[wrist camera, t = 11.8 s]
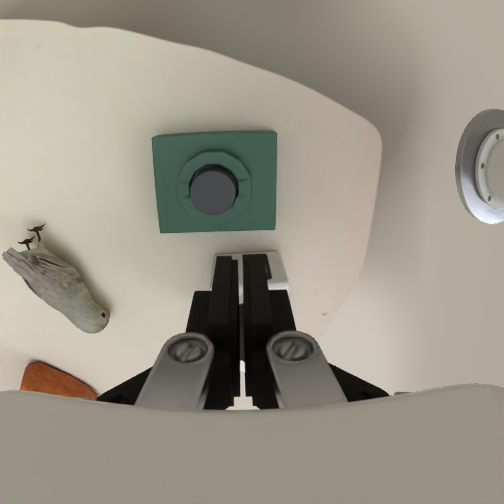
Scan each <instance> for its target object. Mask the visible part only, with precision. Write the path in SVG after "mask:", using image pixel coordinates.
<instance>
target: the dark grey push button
mask: <svg viewBox="0 0 504 504" xmlns="http://www.w3.org/2000/svg"><path fill="white" fill-rule="evenodd" d="M235 195H236V187H235V181H234V179H233V177H232V176H231V174H230V173H229V172H227V171H226V170H224V169H222V168H219V167H209V168H206V169H204V170H202V171H201V172H199V173H198V174H197V176H196V177H195V179H194V181H193V182H192V185H191V188H190V198H191V201H192V203H193V205H194V206H195V207H196V208H197V209H198V210H199V211H201V212H203V213H205V214H209V215H217V214H221V213H223V212H225V211H226V210H228V209H229V208H230V207H231V205H232V204H233V202H234V200H235Z"/></svg>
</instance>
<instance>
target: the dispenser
mask: <svg viewBox="0 0 504 504" xmlns="http://www.w3.org/2000/svg"><path fill="white" fill-rule="evenodd" d="M152 149H153V163H154V176H155V188H156V198H157V208H158V218H159V227H160V233H181V232H211V231H246V230H275V222H276V163H277V133H276V132H274V131H215V132H194V133H179V134H166V135H158V136H155V137H152ZM209 167H219V168H222V169H224V170H226V171H227V172H229V173H230V174H231V176H232V177H233V179H234V181H235V187H236V195H235V200H234V202H233V204H232V205H231V207H230V208H229V209H228V210H226V211H225V212H223V213H221V214H217V215H209V214H205V213H203V212H201V211H199V210H198V209H197V208H196V207H195V206H194V205H193V203H192V201H191V198H190V188H191V185H192V182H193V181H194V179H195V177H196V176H197V174H198V173H199V172H201V171H202V170H204V169H206V168H209Z"/></svg>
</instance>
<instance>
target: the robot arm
mask: <svg viewBox="0 0 504 504" xmlns="http://www.w3.org/2000/svg"><path fill="white" fill-rule="evenodd" d="M475 181H476V186H477V190H478V192H479V195H480V196H481V198H482V200H483V201H484V202H485V203H486V204H488V205H489V206H491V207H493V208H496V209H502V208H504V129H496V130H493V131H492V132H490V133H489V134H488V135H487V136H486V137H485V138H484V140H483V141H482V143H481V145H480V148H479V150H478V153H477V157H476V163H475ZM243 327H244V361H245V391H246V397H248V396H252V401H253V406H257V407H258V408H259V410H225V409H227V408H228V407H229V406H234V397H240V308H239V278H238V259H233V260H232V256H217V257H216V263H215V270H214V276H213V283H212V290H211V291H195V292H194V296H193V300H192V305H191V309H190V314H189V318H188V323H187V328H186V332H185V333H181V334H178V335H175V336H173V337H171V338H170V339H169V340H167V341H166V343H165V344H164V345H163V347H162V349H161V351H160V353H159V355H158V357H157V359H156V361H155V363H154V365H153V367H151V368H149V369H147V370H145V371H144V372H142V373H140V374H138V375H136V376H135V377H133V378H131V379H129V380H127V381H125V382H123V383H122V384H120V385H118V386H116V387H114V388H112V389H110V390H109V391H107V392H105V393H103V394H102V395H100V396H99V397H98V398H97V399H96V400H92V399H91V398H90V397H76V398H73V397H67V396H60V395H54V394H48V393H42V392H33V391H24V390H8V391H0V504H504V388H502V387H499V386H494V385H489V384H477V383H475V384H458V385H451V386H443V387H438V388H433V389H428V390H422V391H416V392H395V394H394V396H389V394H388V393H387V392H385V391H384V390H382V389H381V388H379V387H376V386H374V385H372V384H370V383H368V382H366V381H364V380H362V379H360V378H358V377H356V376H354V375H352V374H350V373H347V372H346V371H344V370H342V369H340V368H338V367H336V366H334V365H332V364H330V363H328V362H327V360H326V358H325V356H324V354H323V352H322V350H321V348H320V346H319V345H318V343H317V341H316V340H315V339H314V338H313V337H311V336H310V335H309V334H306V333H303V332H300V331H296V327H295V322H294V318H293V313H292V309H291V305H290V300H289V296H288V292H287V290H286V289H280V290H269V289H268V282H267V275H266V268H265V261H264V255H249V259H243Z"/></svg>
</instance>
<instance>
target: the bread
mask: <svg viewBox="0 0 504 504" xmlns="http://www.w3.org/2000/svg"><path fill="white" fill-rule="evenodd" d="M20 390H24V391H33V392H42V393H48V394H54V395H60V396H67V397H73V398H76V397H90V398H91V399H92V400H96V399H97V397H96V395H95V394H94V392H93V391H92V390H91V389H90V388H89V386H87V385H85V384H84V383H82V382H80V381H78V380H77V379H75V378H73V377H72V376H70V375H68V374H66V373H64V372H61V371H59V370H57V369H54V368H52V367H50V366H48V365H45V364H42V363H35V364H31V365H28V366H27V367H26V369H25V372H24V376H23V379H22V383H21V388H20Z"/></svg>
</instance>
